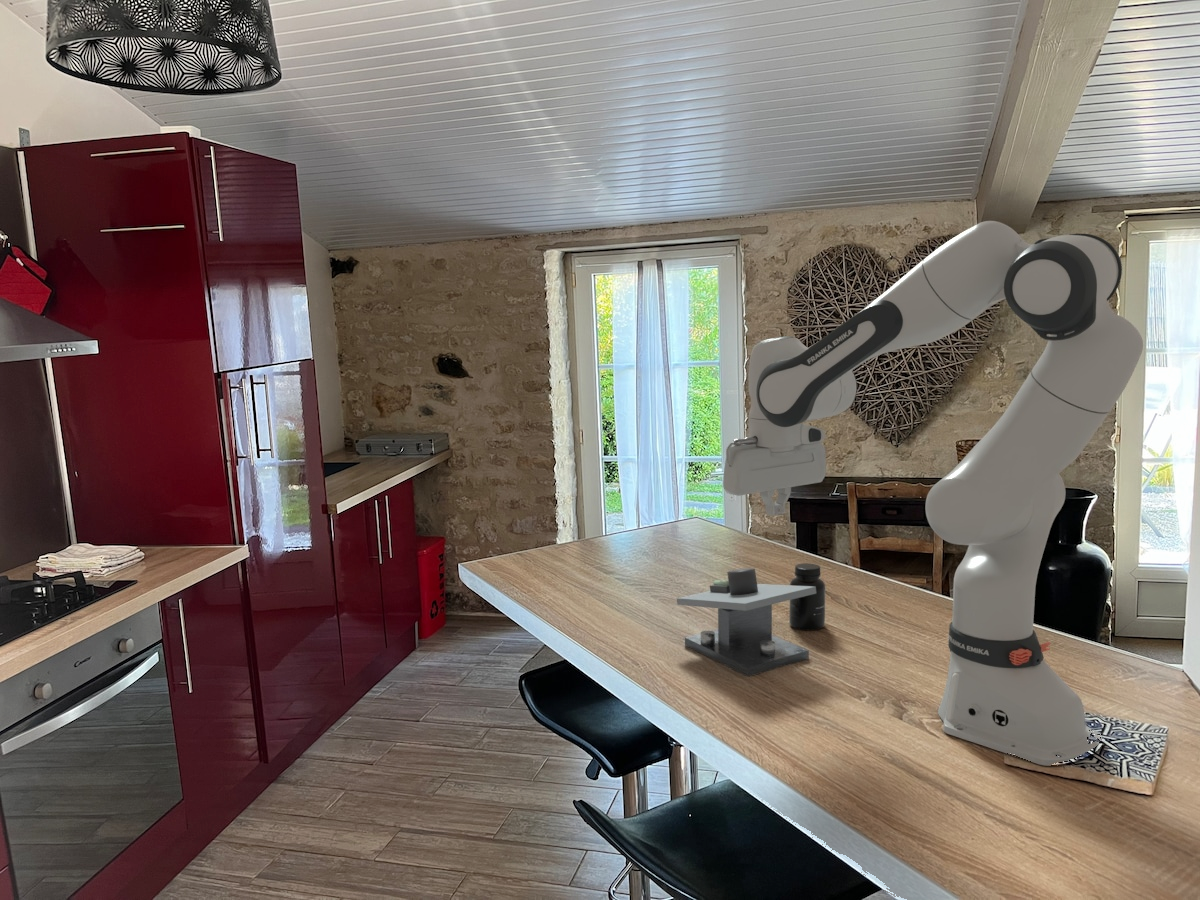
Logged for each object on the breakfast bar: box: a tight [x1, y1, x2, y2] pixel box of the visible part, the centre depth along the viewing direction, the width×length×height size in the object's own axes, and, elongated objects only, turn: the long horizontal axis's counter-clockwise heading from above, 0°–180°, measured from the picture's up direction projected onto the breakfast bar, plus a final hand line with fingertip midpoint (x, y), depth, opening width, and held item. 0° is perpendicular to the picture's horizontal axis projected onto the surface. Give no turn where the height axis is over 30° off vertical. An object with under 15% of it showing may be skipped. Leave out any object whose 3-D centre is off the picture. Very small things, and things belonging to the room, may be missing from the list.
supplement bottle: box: [788, 563, 826, 631], centre depth 182 cm, size 7×7×12 cm
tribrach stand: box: [684, 604, 810, 677], centre depth 169 cm, size 18×14×9 cm
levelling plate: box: [676, 567, 816, 611], centre depth 168 cm, size 20×16×6 cm
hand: (775, 514), depth 159 cm, fingers closed
